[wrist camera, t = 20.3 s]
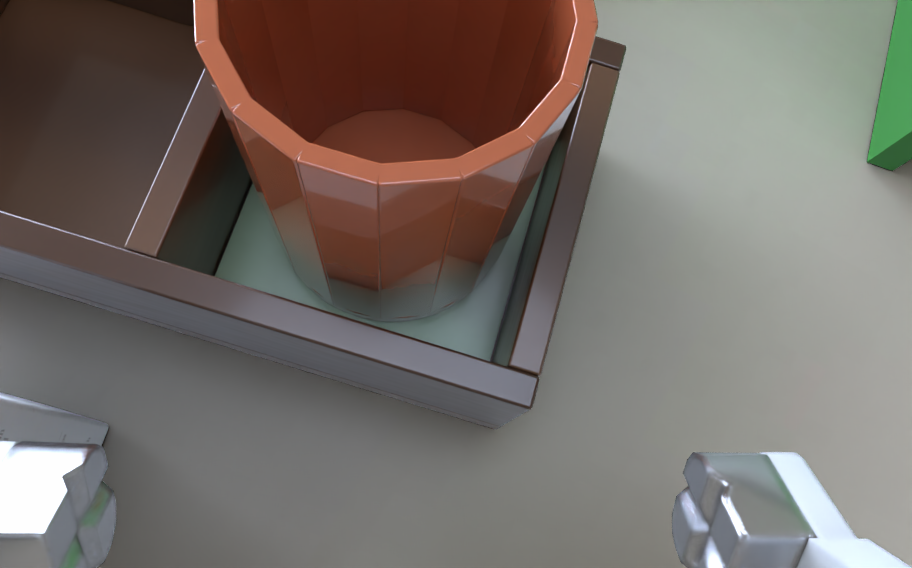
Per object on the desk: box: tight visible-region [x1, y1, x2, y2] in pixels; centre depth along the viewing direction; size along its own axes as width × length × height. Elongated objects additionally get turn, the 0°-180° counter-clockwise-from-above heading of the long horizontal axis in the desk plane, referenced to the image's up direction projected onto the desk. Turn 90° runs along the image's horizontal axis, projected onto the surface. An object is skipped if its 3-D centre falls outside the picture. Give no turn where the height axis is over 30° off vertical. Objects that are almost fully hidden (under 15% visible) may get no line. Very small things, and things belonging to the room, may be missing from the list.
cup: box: [193, 0, 598, 322], centre depth 18 cm, size 7×7×10 cm
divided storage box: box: [0, 0, 626, 429], centre depth 21 cm, size 10×19×6 cm, turn 74°
